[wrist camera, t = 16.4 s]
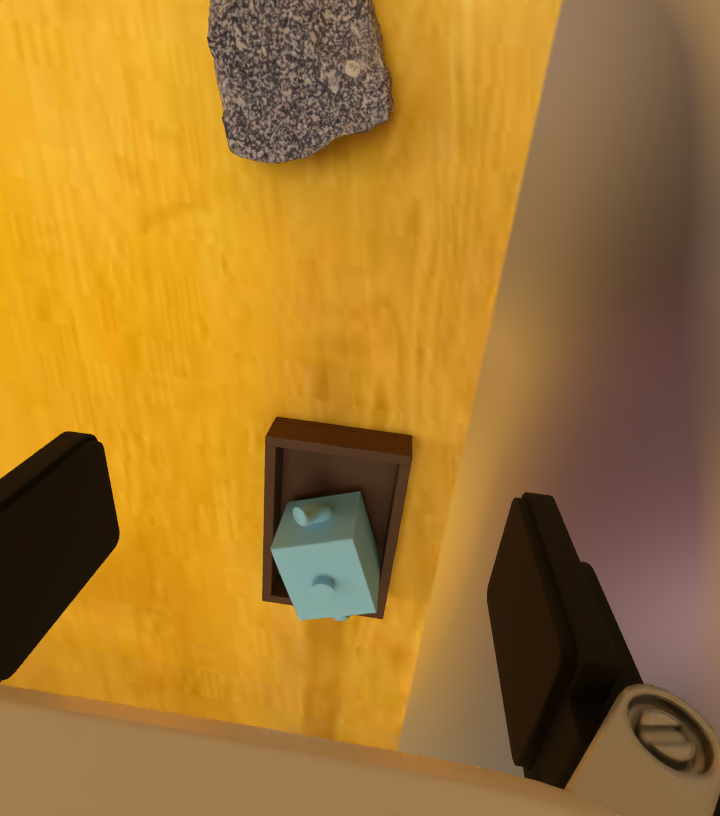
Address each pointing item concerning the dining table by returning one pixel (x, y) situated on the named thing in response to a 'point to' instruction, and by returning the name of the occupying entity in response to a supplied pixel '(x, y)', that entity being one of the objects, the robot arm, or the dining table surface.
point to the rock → (297, 74)
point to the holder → (334, 485)
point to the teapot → (328, 557)
